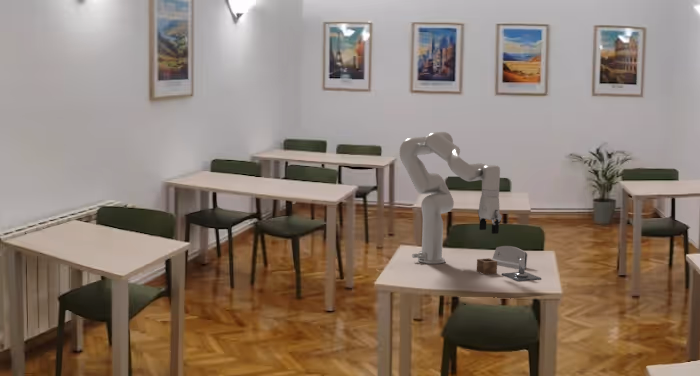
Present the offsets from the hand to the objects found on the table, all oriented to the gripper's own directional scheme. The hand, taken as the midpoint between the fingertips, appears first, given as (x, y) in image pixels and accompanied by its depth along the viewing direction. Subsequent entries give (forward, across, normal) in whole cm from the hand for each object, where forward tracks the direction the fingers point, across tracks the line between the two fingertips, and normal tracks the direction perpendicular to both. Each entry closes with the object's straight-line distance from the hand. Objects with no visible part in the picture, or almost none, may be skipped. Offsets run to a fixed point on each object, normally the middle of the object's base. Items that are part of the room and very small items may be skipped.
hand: (488, 231), depth 352 cm
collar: (+18, 0, 0) cm, 19 cm away
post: (+19, +12, +10) cm, 24 cm away
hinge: (+19, -9, +18) cm, 28 cm away
